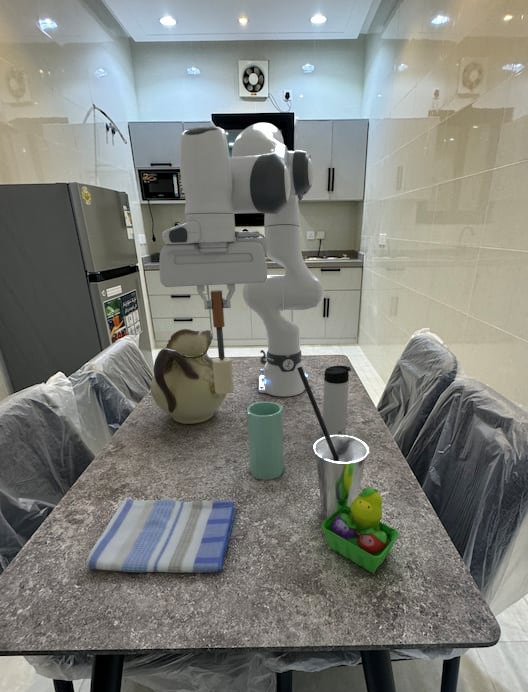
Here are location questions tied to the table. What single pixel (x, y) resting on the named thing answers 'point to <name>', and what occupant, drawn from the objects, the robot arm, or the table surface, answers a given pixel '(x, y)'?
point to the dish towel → (165, 537)
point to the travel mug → (335, 399)
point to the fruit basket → (361, 531)
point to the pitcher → (186, 378)
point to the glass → (336, 463)
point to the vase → (265, 439)
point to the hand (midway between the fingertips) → (217, 308)
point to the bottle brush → (221, 349)
